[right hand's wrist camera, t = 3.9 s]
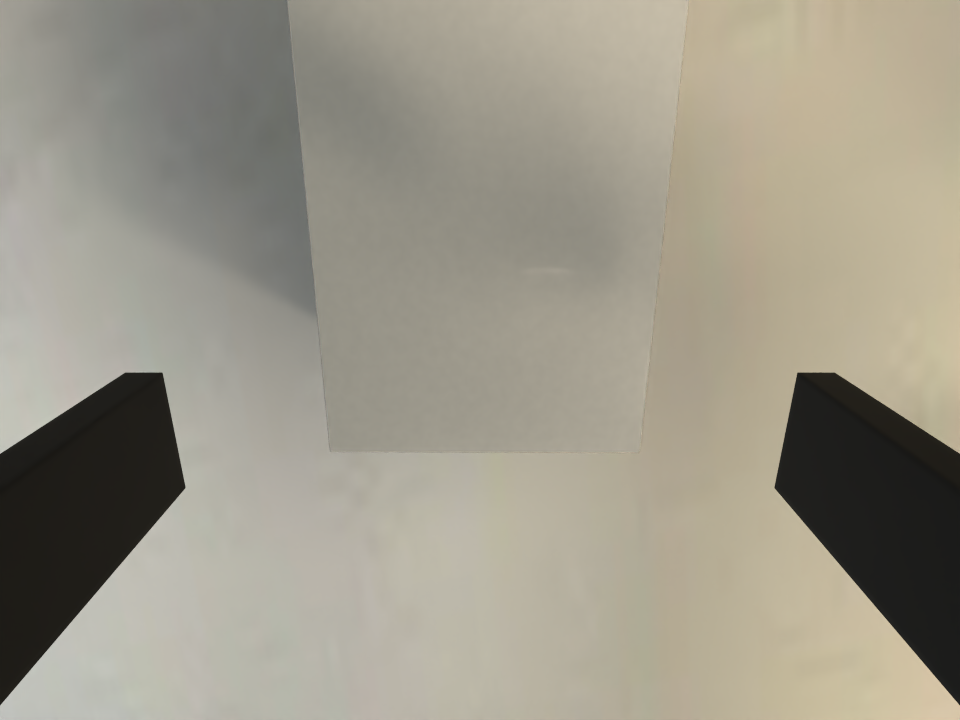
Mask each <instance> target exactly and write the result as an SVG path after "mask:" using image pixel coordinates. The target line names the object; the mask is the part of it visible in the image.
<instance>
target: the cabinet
mask: <svg viewBox="0 0 960 720" xmlns="http://www.w3.org/2000/svg"><path fill="white" fill-rule="evenodd" d="M287 6H288V17H289V27H290V38H291V48H292V59H293V70H294V80H295V91H296V101H297V112H298V122H299V133H300V143H301V154H302V164H303V175H304V185H305V196H306V206H307V217H308V227H309V238H310V248H311V259H312V269H313V280H314V290H315V301H316V312H317V322H318V333H319V343H320V354H321V364H322V375H323V385H324V396H325V406H326V417H327V427H328V438H329V448H330V452H446V453H639V452H640V447H641V438H642V429H643V420H644V411H645V402H646V392H647V383H648V374H649V365H650V356H651V346H652V337H653V328H654V319H655V310H656V300H657V291H658V282H659V273H660V264H661V254H662V245H663V236H664V227H665V218H666V209H667V199H668V190H669V181H670V172H671V163H672V153H673V144H674V135H675V126H676V117H677V107H678V98H679V89H680V80H681V71H682V62H683V52H684V43H685V34H686V25H687V16H688V6H689V0H287Z"/></svg>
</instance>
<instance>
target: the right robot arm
mask: <svg viewBox="0 0 960 720" xmlns="http://www.w3.org/2000/svg"><path fill="white" fill-rule="evenodd" d="M184 489H185V483H184V478H183V473H182V468H181V463H180V458H179V453H178V448H177V443H176V438H175V433H174V428H173V423H172V418H171V413H170V408H169V403H168V398H167V393H166V388H165V383H164V378H163V373H124V374H123V375H121V376H120V377H118V378H116V379H115V380H113V381H112V382H110V383H109V384H107V385H106V386H104V387H103V388H101V389H100V390H98V391H96V392H95V393H93V394H92V395H90V396H89V397H87V398H86V399H84V400H83V401H81V402H79V403H78V404H76V405H75V406H73V407H72V408H70V409H69V410H67V411H66V412H64V413H63V414H61V415H59V416H58V417H56V418H55V419H53V420H52V421H50V422H49V423H47V424H46V425H44V426H43V427H41V428H39V429H38V430H36V431H35V432H33V433H32V434H30V435H29V436H27V437H26V438H24V439H22V440H21V441H19V442H18V443H16V444H15V445H13V446H12V447H10V448H9V449H7V450H6V451H4V452H2V453H1V454H0V705H1V704H2V702H3V701H4V700H5V699H6V698H7V697H8V695H9V694H10V693H11V692H12V691H13V690H14V688H15V687H16V686H17V685H18V684H19V683H20V681H21V680H22V679H23V678H24V677H25V675H26V674H27V673H28V672H29V671H30V670H31V668H32V667H33V666H34V665H35V664H36V663H37V661H38V660H39V659H40V658H41V657H42V656H43V654H44V653H45V652H46V651H47V650H48V649H49V647H50V646H51V645H52V644H53V643H54V641H55V640H56V639H57V638H58V637H59V636H60V634H61V633H62V632H63V631H64V630H65V629H66V627H67V626H68V625H69V624H70V623H71V622H72V620H73V619H74V618H75V617H76V616H77V615H78V613H79V612H80V611H81V610H82V609H83V607H84V606H85V605H86V604H87V603H88V602H89V600H90V599H91V598H92V597H93V596H94V595H95V593H96V592H97V591H98V590H99V589H100V588H101V586H102V585H103V584H104V583H105V582H106V581H107V579H108V578H109V577H110V576H111V575H112V573H113V572H114V571H115V570H116V569H117V568H118V566H119V565H120V564H121V563H122V562H123V561H124V559H125V558H126V557H127V556H128V555H129V554H130V552H131V551H132V550H133V549H134V548H135V547H136V545H137V544H138V543H139V542H140V541H141V539H142V538H143V537H144V536H145V535H146V534H147V532H148V531H149V530H150V529H151V528H152V527H153V525H154V524H155V523H156V522H157V521H158V520H159V518H160V517H161V516H162V515H163V514H164V512H165V511H166V510H167V509H168V508H169V507H170V505H171V504H172V503H173V502H174V501H175V500H176V498H177V497H178V496H179V495H180V494H181V493H182V491H183V490H184ZM775 489H776V490H777V491H778V493H779V494H780V495H781V496H782V497H783V498H784V500H785V501H786V502H787V503H788V504H789V505H790V507H791V508H792V509H793V510H794V511H795V512H796V514H797V515H798V516H799V517H800V518H801V520H802V521H803V522H804V523H805V524H806V525H807V527H808V528H809V529H810V530H811V531H812V532H813V534H814V535H815V536H816V537H817V538H818V539H819V541H820V542H821V543H822V544H823V545H824V547H825V548H826V549H827V550H828V551H829V552H830V554H831V555H832V556H833V557H834V558H835V559H836V561H837V562H838V563H839V564H840V565H841V566H842V568H843V569H844V570H845V571H846V572H847V573H848V575H849V576H850V577H851V578H852V579H853V581H854V582H855V583H856V584H857V585H858V586H859V588H860V589H861V590H862V591H863V592H864V593H865V595H866V596H867V597H868V598H869V599H870V600H871V602H872V603H873V604H874V605H875V606H876V607H877V609H878V610H879V611H880V612H881V613H882V615H883V616H884V617H885V618H886V619H887V620H888V622H889V623H890V624H891V625H892V626H893V627H894V629H895V630H896V631H897V632H898V633H899V634H900V636H901V637H902V638H903V639H904V640H905V641H906V643H907V644H908V645H909V646H910V647H911V649H912V650H913V651H914V652H915V653H916V654H917V656H918V657H919V658H920V659H921V660H922V661H923V663H924V664H925V665H926V666H927V667H928V668H929V670H930V671H931V672H932V673H933V674H934V675H935V677H936V678H937V679H938V680H939V681H940V683H941V684H942V685H943V686H944V687H945V688H946V690H947V691H948V692H949V693H950V694H951V695H952V697H953V698H954V699H955V700H956V701H957V702H958V704H959V705H960V454H959V453H958V452H956V451H954V450H953V449H951V448H950V447H948V446H947V445H945V444H944V443H942V442H941V441H939V440H938V439H936V438H934V437H933V436H931V435H930V434H928V433H927V432H925V431H924V430H922V429H921V428H919V427H917V426H916V425H914V424H913V423H911V422H910V421H908V420H907V419H905V418H904V417H902V416H901V415H899V414H897V413H896V412H894V411H893V410H891V409H890V408H888V407H887V406H885V405H884V404H882V403H881V402H879V401H877V400H876V399H874V398H873V397H871V396H870V395H868V394H867V393H865V392H864V391H862V390H860V389H859V388H857V387H856V386H854V385H853V384H851V383H850V382H848V381H847V380H845V379H844V378H842V377H840V376H839V375H837V374H836V373H797V378H796V383H795V388H794V393H793V398H792V403H791V408H790V413H789V418H788V423H787V428H786V433H785V438H784V443H783V448H782V453H781V458H780V463H779V468H778V473H777V478H776V483H775Z"/></svg>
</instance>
